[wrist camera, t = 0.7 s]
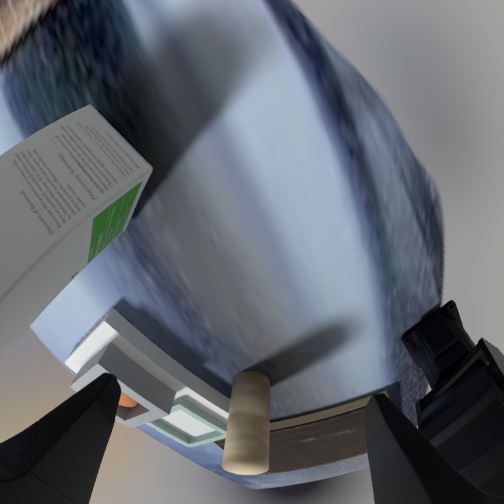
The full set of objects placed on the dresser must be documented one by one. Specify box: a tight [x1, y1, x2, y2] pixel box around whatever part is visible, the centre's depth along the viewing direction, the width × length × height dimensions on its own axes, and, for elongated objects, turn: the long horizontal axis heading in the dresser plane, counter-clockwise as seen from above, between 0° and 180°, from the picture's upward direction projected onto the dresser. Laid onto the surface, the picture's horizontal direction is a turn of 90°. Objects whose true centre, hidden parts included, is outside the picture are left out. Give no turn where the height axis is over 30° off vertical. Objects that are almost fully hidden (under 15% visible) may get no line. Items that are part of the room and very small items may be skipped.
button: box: [119, 391, 138, 407], centre depth 24 cm, size 4×4×1 cm
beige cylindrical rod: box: [222, 371, 270, 475], centre depth 22 cm, size 4×4×10 cm
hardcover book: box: [213, 390, 392, 475], centre depth 32 cm, size 16×23×2 cm
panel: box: [65, 308, 231, 447], centre depth 26 cm, size 20×12×5 cm, turn 41°
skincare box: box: [0, 105, 153, 362], centre depth 11 cm, size 8×7×16 cm
